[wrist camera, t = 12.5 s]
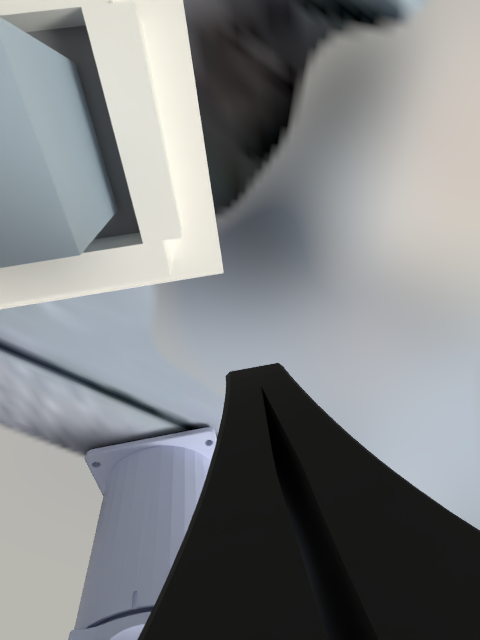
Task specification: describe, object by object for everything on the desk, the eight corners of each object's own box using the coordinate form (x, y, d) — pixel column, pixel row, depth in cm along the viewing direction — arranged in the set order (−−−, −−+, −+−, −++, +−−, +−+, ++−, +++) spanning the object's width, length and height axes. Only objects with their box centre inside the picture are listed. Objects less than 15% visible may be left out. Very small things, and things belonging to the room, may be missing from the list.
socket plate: (222, 269, 17) (228, 289, 15) (-31, 310, 16) (-64, 338, 14) (169, -82, 11) (166, -134, 9) (-233, -44, 10) (-345, -91, 8)
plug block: (117, 209, 14) (80, 255, 9) (19, 225, 14) (-76, 280, 9) (75, 63, 12) (-9, 11, 7) (-44, 78, 12) (-227, 36, 7)
